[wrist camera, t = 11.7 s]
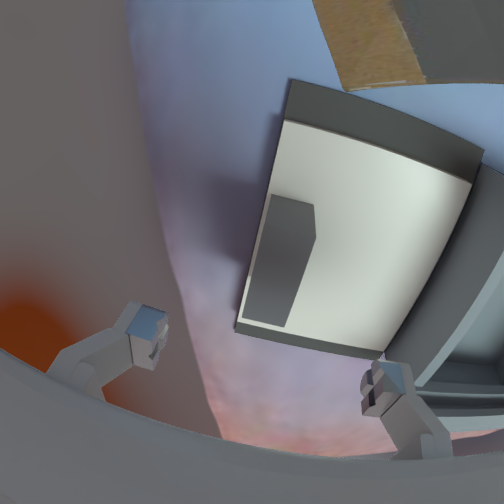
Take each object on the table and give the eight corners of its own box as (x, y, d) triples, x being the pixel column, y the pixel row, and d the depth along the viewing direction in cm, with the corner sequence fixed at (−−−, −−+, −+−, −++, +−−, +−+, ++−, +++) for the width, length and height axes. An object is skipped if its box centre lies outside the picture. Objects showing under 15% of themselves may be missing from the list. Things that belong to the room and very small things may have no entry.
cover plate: (284, 119, 17) (279, 132, 13) (466, 180, 16) (504, 211, 12) (239, 314, 24) (226, 361, 20) (382, 344, 24) (390, 391, 20)
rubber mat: (292, 79, 16) (292, 79, 15) (482, 148, 15) (484, 149, 15) (234, 329, 26) (234, 332, 25) (376, 358, 25) (377, 360, 25)
